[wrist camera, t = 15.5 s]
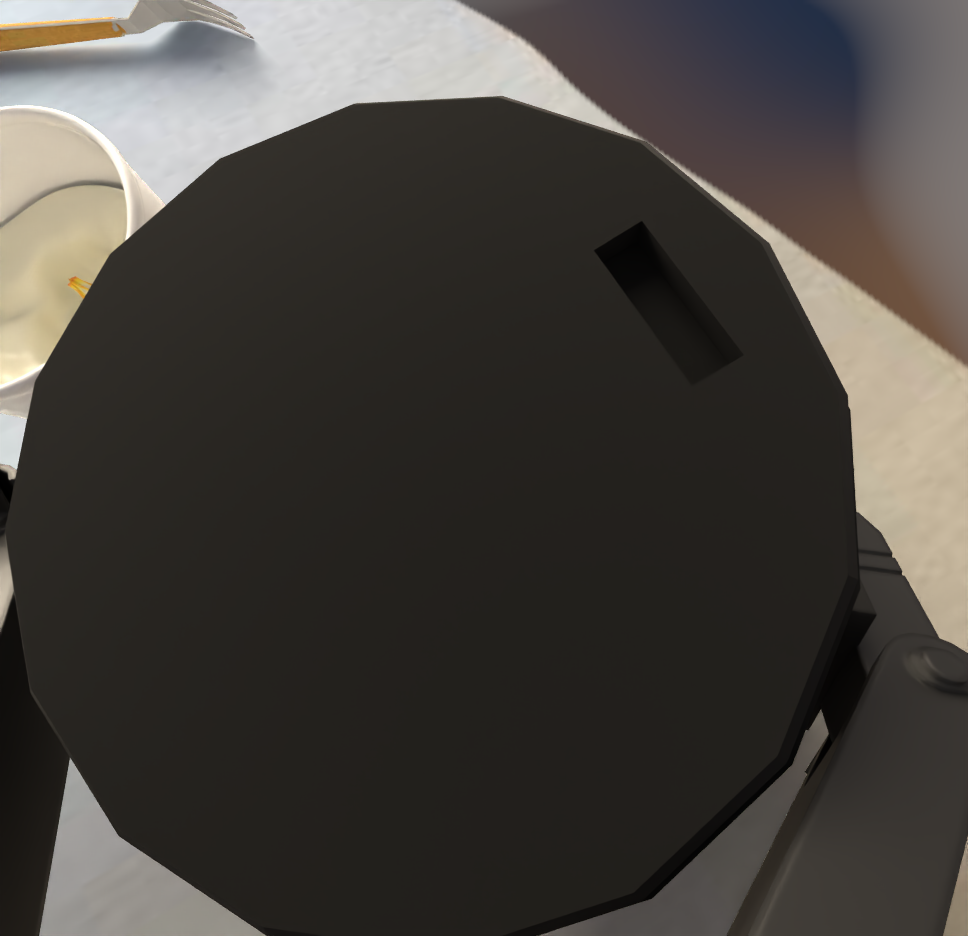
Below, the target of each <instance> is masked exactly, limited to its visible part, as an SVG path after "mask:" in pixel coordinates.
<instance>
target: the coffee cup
mask: <svg viewBox="0 0 968 936" xmlns="http://www.w3.org/2000/svg"><path fill="white" fill-rule="evenodd" d="M5 539H6V545H7V551H8V558H9V564H10V570H11V576H12V582H13V588H14V595H15V601H16V607H17V613H18V619H19V625H20V632H21V638H22V644H23V650H24V656H25V662H26V668H27V675H28V681H29V687H30V693H31V694H32V696H33V698H34V699H35V701H36V703H37V704H38V706H39V707H40V709H41V711H42V712H43V714H44V716H45V717H46V719H47V720H48V722H49V724H50V725H51V727H52V729H53V730H54V732H55V733H56V735H57V737H58V738H59V740H60V742H61V743H62V745H63V746H64V748H65V750H66V751H67V753H68V755H69V756H70V758H71V759H72V761H73V763H74V764H75V766H76V768H77V769H78V771H79V772H80V774H81V776H82V777H83V779H84V781H85V782H86V784H87V785H88V787H89V789H90V790H91V792H92V794H93V795H94V797H95V798H96V800H97V802H98V803H99V805H100V807H101V808H102V810H103V811H104V813H105V815H106V816H107V818H108V819H109V821H110V823H111V824H112V826H113V828H114V829H115V831H116V832H117V834H118V836H119V837H121V838H122V839H124V840H125V841H127V842H128V843H130V844H131V845H133V846H134V847H136V848H137V849H139V850H140V851H142V852H143V853H145V854H146V855H148V856H149V857H151V858H152V859H153V860H155V861H156V862H158V863H159V864H161V865H162V866H164V867H165V868H167V869H168V870H170V871H171V872H173V873H174V874H176V875H177V876H179V877H180V878H182V879H183V880H185V881H186V882H188V883H189V884H191V885H192V886H194V887H195V888H196V889H198V890H199V891H201V892H202V893H204V894H205V895H207V896H208V897H210V898H211V899H213V900H214V901H216V902H217V903H219V904H220V905H222V906H223V907H225V908H226V909H228V910H229V911H231V912H232V913H234V914H235V915H237V916H238V917H240V918H241V919H242V920H244V921H245V922H247V923H248V924H250V925H251V926H253V927H254V928H256V929H257V930H259V931H260V932H262V933H263V934H265V935H266V936H538V935H541V934H544V933H547V932H550V931H553V930H556V929H560V928H563V927H566V926H569V925H572V924H575V923H578V922H581V921H584V920H587V919H590V918H594V917H597V916H600V915H603V914H606V913H609V912H612V911H615V910H618V909H621V908H624V907H627V906H631V905H634V904H637V903H640V902H643V901H646V900H649V899H652V898H653V897H654V896H655V895H656V894H657V893H658V892H660V891H661V890H662V889H663V888H664V887H665V886H666V885H667V884H668V883H669V882H670V881H671V880H672V879H673V878H674V877H675V876H676V875H677V874H678V873H679V872H680V871H682V870H683V869H684V868H685V867H686V866H687V865H688V864H689V863H690V862H691V861H692V860H693V859H694V858H695V857H696V856H697V855H698V854H699V853H700V852H701V851H702V850H704V849H705V848H706V847H707V846H708V845H709V844H710V843H711V842H712V841H713V840H714V839H715V838H716V837H717V836H718V835H719V834H720V833H721V832H722V831H723V830H725V829H726V828H727V827H728V826H729V825H730V824H731V823H732V822H733V821H734V820H735V819H736V818H737V817H738V816H739V815H740V814H741V813H742V812H743V811H744V810H745V809H747V808H748V807H749V806H750V805H751V804H752V803H753V802H754V801H755V800H756V799H757V798H758V797H759V796H760V795H761V794H762V793H763V792H764V791H765V790H766V789H767V788H769V787H770V786H771V785H772V784H773V783H774V782H775V781H776V780H777V779H778V778H779V777H780V776H781V775H782V774H783V773H784V772H785V771H786V770H787V769H788V768H789V767H791V766H792V764H793V762H794V759H795V756H796V754H797V751H798V749H799V746H800V743H801V741H802V738H803V736H804V733H805V731H806V728H807V725H808V723H809V720H810V718H811V715H812V713H813V710H814V707H815V705H816V702H817V700H818V697H819V695H820V692H821V689H822V687H823V684H824V682H825V679H826V676H827V674H828V671H829V669H830V666H831V664H832V661H833V658H834V656H835V653H836V651H837V648H838V646H839V643H840V640H841V638H842V635H843V633H844V630H845V628H846V625H847V622H848V620H849V617H850V615H851V612H852V610H853V607H854V604H855V602H856V599H857V597H858V594H859V591H860V589H861V587H860V570H859V553H858V535H857V518H856V501H855V484H854V466H853V449H852V432H851V414H850V409H849V407H848V395H847V393H846V391H845V389H844V387H843V385H842V383H841V381H840V379H839V378H838V376H837V374H836V372H835V370H834V368H833V366H832V364H831V362H830V360H829V358H828V356H827V354H826V352H825V350H824V348H823V347H822V345H821V343H820V341H819V339H818V337H817V335H816V333H815V331H814V329H813V327H812V325H811V323H810V321H809V319H808V317H807V316H806V314H805V312H804V310H803V308H802V306H801V304H800V302H799V300H798V298H797V296H796V294H795V292H794V290H793V288H792V286H791V284H790V283H789V281H788V279H787V277H786V275H785V273H784V271H783V269H782V267H781V265H780V263H779V261H778V259H777V257H776V255H775V253H774V252H773V250H772V248H771V246H770V244H769V243H768V242H767V241H766V240H765V239H763V238H762V237H761V236H760V235H759V234H757V233H756V232H755V231H754V230H752V229H751V228H750V227H749V226H748V225H746V224H745V223H744V222H743V221H742V220H740V219H739V218H738V217H737V216H736V215H734V214H733V213H732V212H731V211H729V210H728V209H727V208H726V207H725V206H723V205H722V204H721V203H720V202H719V201H717V200H716V199H715V198H714V197H713V196H711V195H710V194H709V193H708V192H706V191H705V190H704V189H703V188H702V187H700V186H699V185H698V184H697V183H696V182H694V181H693V180H692V179H691V178H690V177H688V176H687V175H686V174H685V173H684V172H682V171H681V170H680V169H679V168H677V167H676V166H675V165H674V164H673V163H671V162H670V161H669V160H668V159H667V158H665V157H664V156H663V155H662V154H661V153H659V152H658V151H657V150H656V149H654V148H653V147H652V146H651V145H650V144H648V143H647V142H645V141H642V140H639V139H636V138H633V137H629V136H626V135H623V134H620V133H617V132H614V131H611V130H607V129H604V128H601V127H598V126H595V125H592V124H589V123H585V122H582V121H579V120H576V119H573V118H570V117H567V116H563V115H560V114H557V113H554V112H551V111H548V110H545V109H541V108H538V107H535V106H532V105H529V104H526V103H523V102H520V101H516V100H513V99H510V98H507V97H504V96H494V97H474V98H454V99H434V100H415V101H395V102H375V103H356V104H353V105H350V106H348V107H345V108H343V109H340V110H338V111H335V112H333V113H331V114H328V115H326V116H323V117H321V118H318V119H316V120H313V121H311V122H309V123H306V124H304V125H301V126H299V127H296V128H294V129H291V130H289V131H287V132H284V133H282V134H279V135H277V136H274V137H272V138H269V139H267V140H265V141H262V142H260V143H257V144H255V145H252V146H250V147H247V148H245V149H243V150H240V151H238V152H235V153H233V154H230V155H228V156H225V157H223V158H221V159H219V160H218V161H217V162H215V163H214V164H213V165H212V166H211V167H210V168H209V169H207V170H206V171H205V172H204V173H203V174H202V175H200V176H199V177H198V178H197V179H196V180H195V181H194V182H192V183H191V184H190V185H189V186H188V187H187V188H185V189H184V190H183V191H182V192H181V193H180V194H178V195H177V196H176V197H175V198H174V199H173V200H172V201H170V202H169V203H168V204H167V205H166V206H165V207H163V208H162V209H161V210H160V211H159V212H158V213H157V214H155V215H154V216H153V217H152V218H151V219H150V220H148V221H147V222H146V223H145V224H144V225H143V226H142V227H140V228H139V229H138V230H137V231H136V232H135V233H133V234H132V235H131V236H130V237H129V238H128V239H127V240H125V241H124V242H123V243H122V244H121V245H120V246H118V247H117V248H116V249H115V250H114V251H113V252H112V253H110V255H109V256H108V258H107V260H106V261H105V263H104V265H103V267H102V268H101V270H100V272H99V273H98V275H97V277H96V278H95V280H94V282H93V283H92V285H91V287H90V289H89V290H88V292H87V294H86V295H85V297H84V299H83V300H82V302H81V304H80V306H79V307H78V309H77V311H76V312H75V314H74V316H73V317H72V319H71V321H70V322H69V324H68V326H67V328H66V329H65V331H64V333H63V334H62V336H61V338H60V339H59V341H58V343H57V345H56V346H55V348H54V350H53V351H52V353H51V355H50V356H49V358H48V360H47V361H46V363H45V365H44V367H43V368H42V370H41V372H40V373H39V375H38V377H37V378H36V380H35V383H34V388H33V393H32V398H31V403H30V408H29V413H28V418H27V423H26V428H25V433H24V438H23V443H22V448H21V453H20V458H19V463H18V468H17V473H16V478H15V483H14V488H13V493H12V497H11V502H10V507H9V512H8V517H7V522H6V527H5Z"/></svg>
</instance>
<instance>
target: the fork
mask: <svg viewBox="0 0 968 936" xmlns="http://www.w3.org/2000/svg"><path fill="white" fill-rule="evenodd" d="M192 1H193V2H192ZM194 2H196V3H194ZM197 3H199V4H201V5H199V4H197ZM202 5H204V6H207V7H210V8H212V9H215V10H217V11H219V12H221V13H224V14H226V15H228V16H230V17H232V18H234V19H237V17H236V16H234V15H233V14H232V13H230V12H228V11H226V10H224V9H222V8H220V7H218V6H216V5H214V4H212V3H211V2H208V1H206V0H190V1H189V0H138V2H137V4H136V5H135V7H134V8H133V10H132V12H131V13H130V15H129V17H128V18H115V17H106V18H91V19H76V20H61V21H46V22H31V23H16V24H1V25H0V52H1V51H9V50H17V49H25V48H33V47H41V46H49V45H57V44H65V43H74V42H82V41H90V40H98V39H106V38H114V37H122V36H125V35H127V34H137V33H143V32H145V31H147V30H149V29H151V28H153V27H155V26H157V25H159V24H161V23H163V22H176V21H195V20H200V21H205V22H210V23H215V24H218V25H221V26H224V27H227V28H230V29H233V30H235V31H237V32H240V33H242V34H244V35H246V36H248V37H250V38H252V39H254V38H253V37H252V36H251V35H250V34H248V33H246V32H244V31H242V30H240V29H239V28H241V29H243V30H245V29H246V28H245V27H244V26H243V25H242V24H241V23H239V22H237V21H235V20H233V19H231V18H229V17H227V16H225V15H223V14H221V13H219V12H217V11H214V10H212V9H209V8H207V7H204V6H202ZM206 14H207V15H206ZM209 15H210V16H209ZM212 16H213V17H212ZM214 17H216V18H214ZM217 18H219V19H222V20H225V21H227V22H229V23H231V24H233V25H235V26H237V27H239V28H237V27H235V26H233V25H231V24H229V23H227V22H224V21H222V20H219V19H217Z"/></svg>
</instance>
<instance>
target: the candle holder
mask: <svg viewBox="0 0 968 936" xmlns="http://www.w3.org/2000/svg"><path fill="white" fill-rule="evenodd" d="M165 206H166V204H165V203H164V202H163V201H162V200H161V199H160V198H159V197H158V196H157V195H156V194H155V193H154V192H153V190H152V189H151V188H150V187H149V186H148V185H147V184H146V183H145V182H144V181H143V180H142V179H141V178H140V176H139V175H138V174H137V173H136V172H135V171H134V170H133V169H132V168H131V167H130V166H129V164H128V163H127V162H126V160H125V159H124V157H123V156H122V155H121V153H120V152H119V151H118V150H117V148H116V147H115V146H114V145H113V144H112V143H111V142H110V141H109V140H108V139H107V138H106V137H105V136H104V135H103V134H102V133H100V132H99V131H98V130H97V129H95V128H94V127H92V126H91V125H89V124H88V123H86V122H85V121H83V120H81V119H79V118H77V117H75V116H73V115H70V114H68V113H65V112H62V111H59V110H55V109H51V108H45V107H38V106H9V107H1V108H0V413H2V414H6V415H11V416H15V417H19V418H24V419H27V418H28V413H29V408H30V403H31V398H32V393H33V388H34V383H35V380H36V378H37V377H38V375H39V373H40V372H41V370H42V368H43V367H44V365H45V363H46V361H47V360H48V358H49V356H50V355H51V353H52V351H53V350H54V348H55V346H56V345H57V343H58V341H59V339H60V338H61V336H62V334H63V333H64V331H65V329H66V328H67V326H68V324H69V322H70V321H71V319H72V317H73V316H74V314H75V312H76V311H77V309H78V307H79V306H80V304H81V302H82V300H83V299H84V297H85V295H86V294H87V292H88V290H89V289H90V287H91V285H92V283H93V282H94V280H95V278H96V277H97V275H98V273H99V272H100V270H101V268H102V267H103V265H104V263H105V261H106V260H107V258H108V256H109V255H110V253H112V252H113V251H114V250H115V249H116V248H117V247H118V246H120V245H121V244H122V243H123V242H124V241H125V240H127V239H128V238H129V237H130V236H131V235H132V234H133V233H135V232H136V231H137V230H138V229H139V228H140V227H142V226H143V225H144V224H145V223H146V222H147V221H148V220H150V219H151V218H152V217H153V216H154V215H155V214H157V213H158V212H159V211H160V210H161V209H162V208H163V207H165Z"/></svg>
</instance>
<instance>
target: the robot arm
mask: <svg viewBox="0 0 968 936" xmlns="http://www.w3.org/2000/svg"><path fill="white" fill-rule="evenodd" d="M16 473H17V470H16V469H14V468H13V467H11V466H10V465H3V464H0V936H39V933H40V927H41V922H42V916H43V910H44V904H45V899H46V893H47V887H48V881H49V875H50V870H51V864H52V858H53V852H54V847H55V841H56V835H57V829H58V824H59V818H60V812H61V806H62V801H63V795H64V789H65V783H66V777H67V772H68V766H69V760H70V756H69V755H68V753H67V751H66V750H65V748H64V746H63V745H62V743H61V742H60V740H59V738H58V737H57V735H56V733H55V732H54V730H53V729H52V727H51V725H50V724H49V722H48V720H47V719H46V717H45V716H44V714H43V712H42V711H41V709H40V707H39V706H38V704H37V703H36V701H35V699H34V698H33V696H32V694H31V693H30V687H29V681H28V675H27V668H26V662H25V656H24V650H23V644H22V638H21V632H20V625H19V619H18V613H17V607H16V601H15V595H14V588H13V582H12V576H11V570H10V564H9V558H8V551H7V545H6V539H5V527H6V522H7V517H8V512H9V507H10V502H11V497H12V493H13V488H14V483H15V478H16ZM856 518H857V535H858V553H859V570H860V587H861V589H860V591H859V594H858V597H857V599H856V602H855V604H854V607H853V610H852V612H851V615H850V617H849V620H848V622H847V625H846V628H845V630H844V633H843V635H842V638H841V640H840V643H839V646H838V648H837V651H836V653H835V656H834V658H833V661H832V664H831V666H830V669H829V671H828V674H827V676H826V679H825V682H824V684H823V687H822V689H821V692H820V695H819V697H818V700H817V702H816V705H815V707H814V710H813V713H812V715H811V718H810V720H809V723H808V725H807V728H806V730H809V728H810V727H811V725H812V723H813V722H814V720H815V718H816V716H817V715H818V713H819V711H820V710H822V713H823V716H824V719H825V722H826V726H827V729H828V732H829V735H828V736H827V738H826V739H825V741H824V743H823V744H822V746H821V747H820V749H819V750H818V752H817V754H816V755H815V757H814V758H813V760H812V761H811V763H810V765H809V766H808V768H807V769H806V771H805V773H807V776H806V778H805V780H804V782H803V784H802V786H801V788H800V790H799V792H798V794H797V796H796V798H795V800H794V802H793V804H792V806H791V808H790V810H789V812H788V814H787V816H786V818H785V820H784V822H783V824H782V826H781V828H780V830H779V832H778V834H777V836H776V838H775V840H774V842H773V844H772V846H771V848H770V850H769V852H768V854H767V856H766V858H765V860H764V862H763V864H762V866H761V868H760V870H759V872H758V874H757V876H756V878H755V880H754V882H753V884H752V886H751V888H750V890H749V892H748V894H747V896H746V898H745V900H744V902H743V904H742V906H741V908H740V910H739V912H738V914H737V916H736V918H735V920H734V922H733V924H732V926H731V928H730V930H729V932H728V934H727V936H943V933H944V929H945V925H946V921H947V917H948V913H949V909H950V905H951V901H952V897H953V893H954V889H955V885H956V881H957V877H958V873H959V869H960V865H961V861H962V857H963V853H964V849H965V845H966V841H967V837H968V653H967V652H965V651H963V650H962V649H960V648H958V647H957V646H955V645H954V644H952V643H950V642H947V641H944V640H942V639H939V637H938V635H937V633H936V631H935V629H934V628H933V626H932V624H931V622H930V620H929V619H928V617H927V615H926V613H925V611H924V610H923V608H922V606H921V604H920V602H919V601H918V599H917V597H916V595H915V593H914V591H913V590H912V588H911V586H910V584H909V582H908V581H907V579H906V577H905V576H903V575H902V570H901V568H900V566H899V564H898V563H897V561H896V559H895V558H892V552H891V550H890V548H889V546H888V544H887V543H886V541H885V539H884V537H883V535H882V534H881V532H880V531H879V530H878V529H876V528H875V527H874V526H873V525H872V524H871V523H870V522H869V521H867V520H866V519H865V518H864V517H863V516H862V515H861V514H860V513H857V512H856Z"/></svg>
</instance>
